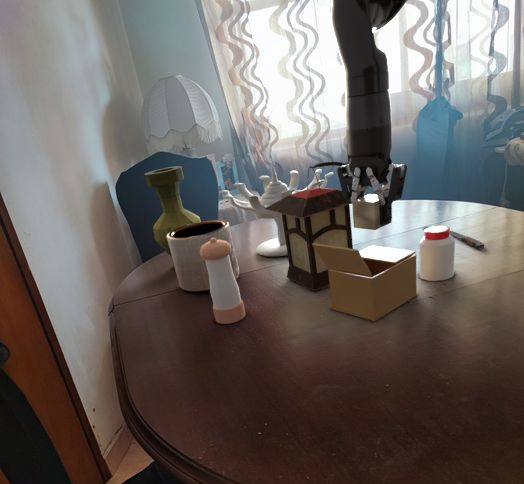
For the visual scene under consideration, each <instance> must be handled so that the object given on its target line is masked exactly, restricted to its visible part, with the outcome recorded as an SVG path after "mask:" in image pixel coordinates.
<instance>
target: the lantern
mask: <svg viewBox="0 0 524 484" xmlns="http://www.w3.org/2000/svg"><path fill="white" fill-rule="evenodd" d="M346 153H347V161H346V162H341V161H325V162H317V163H316V164H314V165H310V166H309V167H308V169H307V177H309V174H310V169H312V171H313V173H314V176H315V175H316V173H315V171H316V170H315V168H323V167H331V166H333V167H334V166H336V167H337V166H338V167H341V166H344V165H347V164H348V165H349V162H350V158H351V157H350V156H349V155H348V150H347V149H346ZM316 178H317V176H316ZM317 182H318V179H317ZM318 185H319V187H314V188H310V189H308V186H309V183H307V186H306V187H307V189H306V190H304V189H302V190H303V191H300V192H297V193H294V194H291V195H288V196H287V197H285V198H283V199H281V200H279V201H278V202H276V203H274V204H272V205H270V206H268V207H267V208H265V209H266V210H270V211H274V212H277V213H281V214H282V221H283V227H284V234H285V241H286V248H287V254H288V255H287V259H288V260H287V261H288V266H287V267H288V268H287V274H286V278H287V279H289V280H290V281H293V282H294V283H296V284H299V285H301V286H302V287H304V288H307V289H309V290H311V291H312V292H318V291H321V290H323V289H326V288H328V287H329V288H330V283H329V274H328V270H329V269H331V268H327V267H326V265H325V263H324V262H323V260H322V259H321V257H320V256H319V254H318V253H317V251H316V250H315V248H314V247H313V245H312V244H313V243H315V244H322V245H329V246H336V247H342V248H349V249H354V245H353V234H352V233H353V232H352V218H351V207H350V205H352V202H351V200H349V199H347V200H346V199H344V197H343V193H342V190H341V189H336V188H329V187H325V188H322V187H320V186H321V185H320V184H319V182H318Z"/></svg>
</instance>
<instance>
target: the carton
mask: <svg viewBox="0 0 524 484" xmlns="http://www.w3.org/2000/svg"><path fill="white" fill-rule="evenodd" d="M358 251H359V253H360V255H361V256H362V258H363V260H364V262H365V263H366V265H367V267H368V269H369V270H370V272H371V274H372V275H371V276H367V275H362V274H357V273H352V272H347V271H342V270H337V269H332V268H331V269H329V270H328V274H329V283H330V286H329V291H330V301H331V309H332V310H333V311H336V312H341V313H344V314H347V315H352V316H354V317H358V318H362V319H366V320H369V321H373V322H376V321H378V320H379V319H382V318H383V317H384V316H385V315H388V314H389V313H390V312H392V311H393V310H395V309H397V308H398V307H400V306H401V305H404V304H405V303H406V302H408V301H410V300H411V299H413V298H415V297H416V296H417V294H418V293H417V291H418V290H417V254H416V252H417V251H416V250H410V249H403V248H402V249H401V248H396V247H395V248H394V247H388V246H380V245H372V244H371V245H368V246H367V247H365V248H362V249H361V250H358Z"/></svg>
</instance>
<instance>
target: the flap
mask: <svg viewBox="0 0 524 484" xmlns="http://www.w3.org/2000/svg"><path fill="white" fill-rule="evenodd" d="M312 245H313V247H314V248H315V250H316V251H317V253H318V254H319V256H320V257H321V259H322V260H323V262H324V263H325V265H326V267H327V268H332V269H337V270H342V271H347V272H352V273H357V274H362V275H367V276H371V275H372V274H371V272H370V270H369V269H368V267H367V265H366V263H365V262H364V260H363V258H362V256H361V255H360V253H359V251H360V250H359V249H357V248H356V249H355V248H353V249H349V248H342V247H336V246H329V245H322V244H315V243H313V244H312Z"/></svg>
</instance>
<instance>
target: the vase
mask: <svg viewBox="0 0 524 484" xmlns="http://www.w3.org/2000/svg"><path fill="white" fill-rule="evenodd" d="M144 179H145V181H146V186H147V187H149V188H150V187H151V188H152V187H153V188H154V190H155V192H156V195H157V196H158V197H159V201H160V204H161V208H162V212H163V213H161V215H160V217H159V218H158V219H157V221H156V222H155V223H154V224H153V226H152V232H153V237H154V241H155V242H156V243H157V244H158V245H159V246H160V247H161V248H162V249H163V250H164V251H165V252H166V253H167V254H168V255H169V256H170V257H171V258H172V255H171V251H170V247H169V243H168V240H167V234H168V233H170V232H171V231H173V230H175V229H177V228H180V227H182V226H185V225H189V224H193V223H197V222H202V220H201V216H199V215H197V214H195V213H193V212H192V211H190V210H187V209H185V208H184V206H183V204H182V203H183V202H182V199H181V195H180V181H181V182H182V181H183V180H184V179H185V177H184V171H183V168H182V165H181V166H180V165H178V166H175V165H174V166H169V167H168V166H167V167H164V168H159V169H155V170H152V171H148V172H145V173H144ZM172 263H173V270H175V266H174V262H173V261H172ZM175 271H176V270H175Z"/></svg>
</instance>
